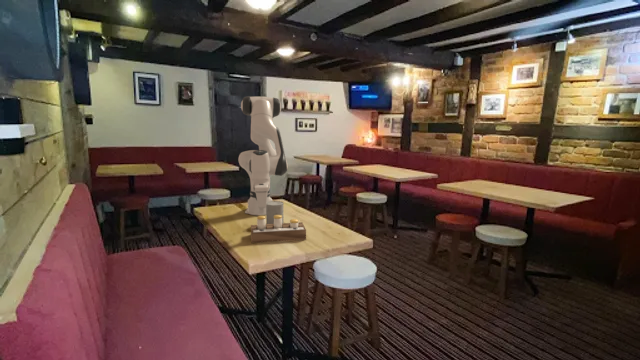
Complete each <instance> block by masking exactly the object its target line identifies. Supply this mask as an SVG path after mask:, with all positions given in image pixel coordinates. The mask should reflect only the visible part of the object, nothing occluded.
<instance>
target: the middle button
mask: <svg viewBox="0 0 640 360" xmlns="http://www.w3.org/2000/svg"><path fill="white" fill-rule="evenodd" d="M278 228H282V215H274V229H278Z"/></svg>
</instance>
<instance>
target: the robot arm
mask: <svg viewBox="0 0 640 360" xmlns="http://www.w3.org/2000/svg"><path fill="white" fill-rule="evenodd" d="M240 107H241V112H242V113H243V115H246V116H248V117H249V116H250V140H251V142H253V143H254V144H255V145H257V146H258V149H252V150H245V151H242V152H240V153H239V155H238V159H237V160H238V161H237V162H238V163H239V164H238V165H239V166H240V167H241V168H242V169H244V170H245V171H246V173H247V174H248V177H249V179H250V191H249V195H250V196H249V199H247V208H246V210H244V214H249V215H251V216H266V205H267V202H270V201H273V199H272V197H271V190H270V189H271V177H270V176H277V177H278V176H281V177H282V176H284V175H285V174H286V173H287V172H288V167H289V166H288V165H289V164H288V160H287V158H286V154H285V150H284V144H283V140H282V136H281V132H280V129H279V127H277V126H276V125H275V124H274V121H273V119H274V118H275V117H276V118H277V117H278V116H279V115H280V114H281V111H282V103H281V100H280V99H279V98H276V97H269V96H250V95H248V96H244V97H243V98H242V101H241V103H240ZM271 141H272V142H273V144H274V147H273V145H272V143H271Z"/></svg>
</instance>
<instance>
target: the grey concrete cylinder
mask: <svg viewBox="0 0 640 360" xmlns="http://www.w3.org/2000/svg"><path fill="white" fill-rule="evenodd" d="M274 215H282V223H284V202H283V201H280V200H279V201H278V200H272V201H270V202H267V205H266V215H265V216H266V224H274Z"/></svg>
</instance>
